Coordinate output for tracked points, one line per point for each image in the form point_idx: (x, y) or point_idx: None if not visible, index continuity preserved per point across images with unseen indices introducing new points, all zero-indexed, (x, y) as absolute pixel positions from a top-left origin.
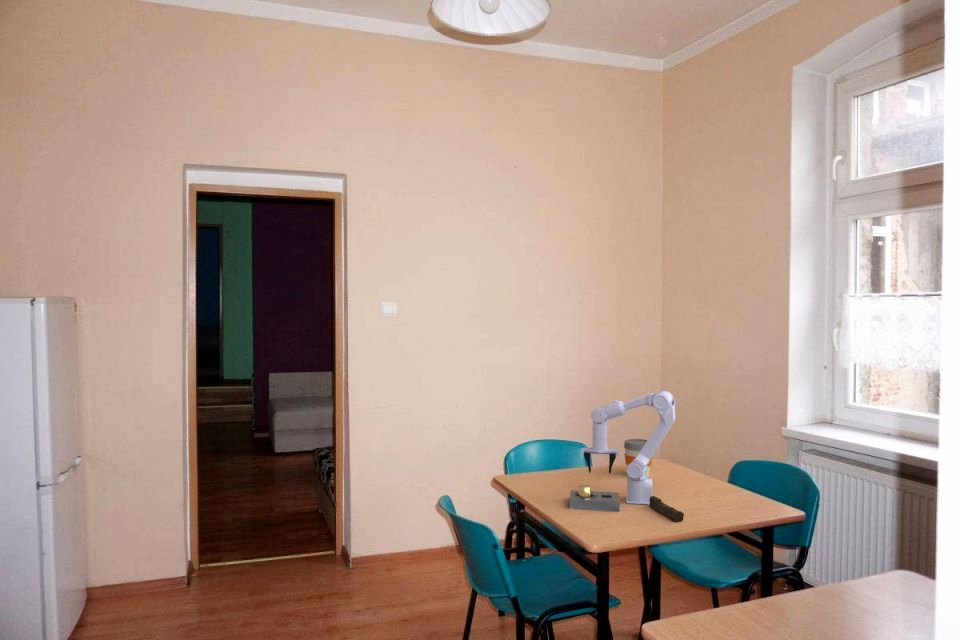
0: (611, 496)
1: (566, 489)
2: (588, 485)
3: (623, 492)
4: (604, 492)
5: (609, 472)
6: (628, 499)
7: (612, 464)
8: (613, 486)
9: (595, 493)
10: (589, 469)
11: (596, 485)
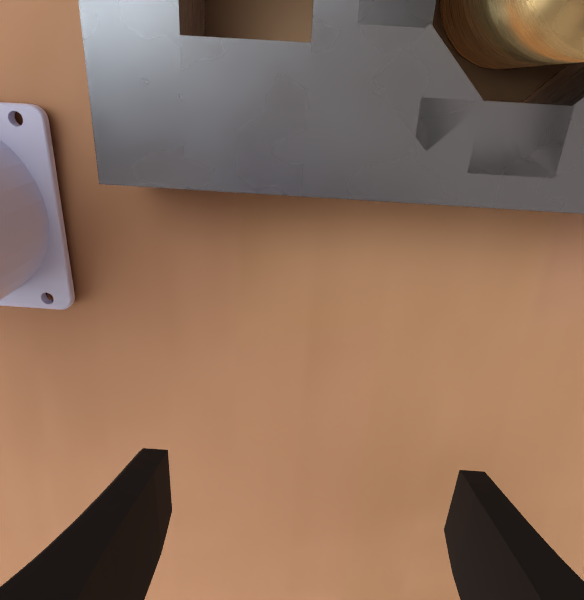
0: (180, 2)
1: (572, 468)
2: (557, 12)
3: (109, 434)
4: (268, 165)
5: (153, 457)
6: (26, 175)
7: (21, 571)
8: (190, 553)
9: (388, 102)
10: (502, 503)
11: (313, 564)
